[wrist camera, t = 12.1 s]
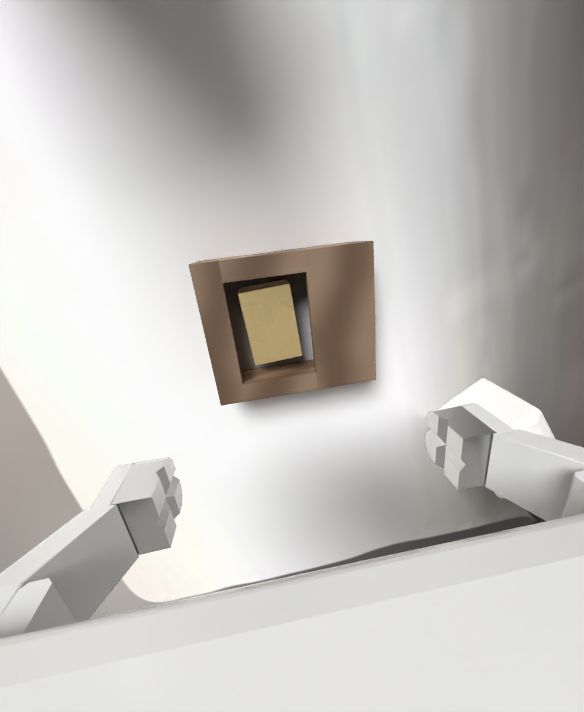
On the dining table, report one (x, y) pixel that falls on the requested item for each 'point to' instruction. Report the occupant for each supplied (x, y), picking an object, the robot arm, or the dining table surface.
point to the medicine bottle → (503, 410)
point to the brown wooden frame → (326, 310)
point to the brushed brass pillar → (270, 321)
